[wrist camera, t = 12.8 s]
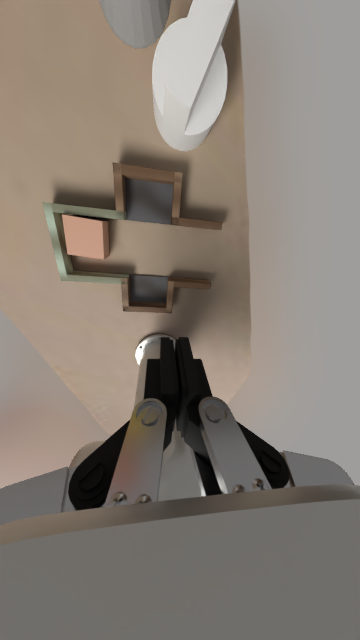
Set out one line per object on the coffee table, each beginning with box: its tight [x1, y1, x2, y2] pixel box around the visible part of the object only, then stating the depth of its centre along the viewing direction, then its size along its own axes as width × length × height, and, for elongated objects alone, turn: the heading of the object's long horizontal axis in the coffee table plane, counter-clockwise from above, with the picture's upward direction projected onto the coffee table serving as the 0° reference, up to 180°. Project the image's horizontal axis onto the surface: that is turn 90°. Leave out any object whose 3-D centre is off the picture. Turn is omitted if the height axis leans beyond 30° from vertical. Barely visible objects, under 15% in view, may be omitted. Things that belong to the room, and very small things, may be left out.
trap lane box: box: [42, 163, 222, 313], centre depth 33 cm, size 24×29×3 cm
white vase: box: [152, 0, 236, 151], centre depth 21 cm, size 9×9×12 cm
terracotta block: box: [62, 215, 109, 259], centre depth 31 cm, size 6×6×4 cm
